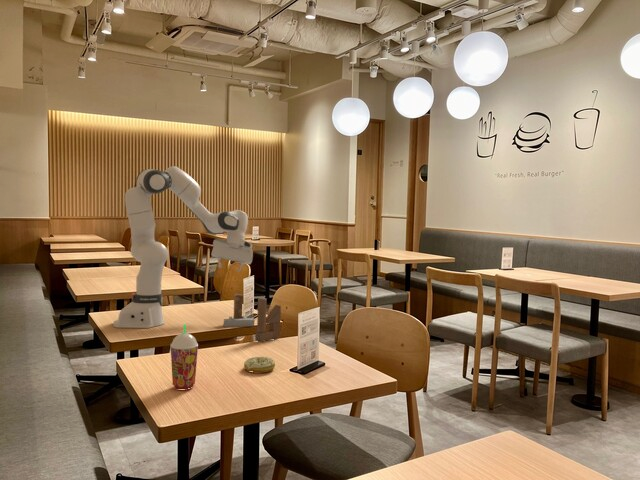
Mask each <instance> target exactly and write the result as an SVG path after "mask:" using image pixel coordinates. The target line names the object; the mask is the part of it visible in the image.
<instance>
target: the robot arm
mask: <svg viewBox="0 0 640 480" xmlns="http://www.w3.org/2000/svg"><path fill="white" fill-rule="evenodd" d="M166 190H169V191H170V192H171V191H172V193H173V194H174V195H175V196H176V197H178V198H179V199H180V200H181V201H182V202H183V203H184V205H185V206H186V207H187V209H189V211H190V212H191V213H192V214H193V215H194V216H195V217H196V218H197V219H198V220H199V221H200V222H201V224H202V226H203V228H204V229H205V231H206V232H207V233H208V234H211V235H218V234H220V233H224V232H225V233H227V235H226V239H221V238H216V239H214V240H213V242H212V247H213V248H212V250H211V254H210V255H211V257H213V258H216V259H217V263H218V268H222V267H223V263H222V262H221V260H228V261H232V262H236V263H239V264H240V266H238V267H237V272H241V271H242V268H243V267H244V265H251V264H252V262H253V258H254V251H253V249H252V248H253V244H252V243H251V242H249V241H248V240H246V239H245V238H246V232H247V229H248V224H249V217H248V214H247V213H246V212H244V211H243V210H240V209H235V210H231V211H220V212H218V213H212V212H211V211H209V210H208V209H207V208H206V207H205V206H204V205H203V204H202V202H201V200H200V197H201V194H202V188H201V186H200V185H199V183H198V182H197V181H196V180H195V179H194V178H193V177H192V176H191V175H190V174H188V173H187V172H186V171H184V170H182V169H181V168H179V167H178V166H176V165H175V166H174V165H173V166H170V167H168V168H166V169H165V170H164V171H163V170H160V169H154V168H148V169H144V170H142V171H140V172H139V173H138V175H137V177H136V179H135V183H134V186H133V187H131V188H129V189H127V190H126V192H125V195H124V203H125V209H126V214H127V218H128V223H129V229H130V235H131V237H130V238H131V241H130V242H131V247H130V254H131V257H132V258H133V259H135V260H136V261H137V262H139V263H140V267H139V271H138V274H137V275H136V279H135V280H136V281H135V282H136V288H135V290H136V292H135V293H134V292H132V294H131V295H130V296H131V302H130V303H129V304H126V306H124V307H123V308H122V309H121V310H120V311H119V313H118V318H117V319H116V320H114V321H113V323H112V326H113V327H114V328H120V329H121V328H123V329H125V328H127V329H133V328H134V329H150V328H153V327H157V326H162V325H164V324H165V319H164V315H163V310H162V309H163V308H162V304H163V293H162V275H163V273H164V272H163V270H164V268H165V264H166V262H167V260H168V258H169V250H168V248H167V246H165V245H164V244H163V243H161V242H160V241H156V240H155V229H156V227H157V226H156V221H155V216H154V211H153V207H152V202H151V198H152V195H156V194H161V193H162V192H164V191H166Z"/></svg>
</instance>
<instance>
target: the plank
mask: <svg viewBox="0 0 640 480" xmlns="http://www.w3.org/2000/svg"><path fill="white" fill-rule="evenodd" d="M243 296H244V295H243V294H242V293H234V294H233V297H234V298H233V319H243V299H244V298H243Z"/></svg>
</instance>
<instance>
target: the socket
mask: <svg viewBox="0 0 640 480" xmlns="http://www.w3.org/2000/svg"><path fill="white" fill-rule="evenodd" d="M223 326H224V328H233V327H255V318H254V317H251V318H249V317H247V316H246V315H242V319H234V317H233V316H230V315H229V317H228V318H224V319H223Z"/></svg>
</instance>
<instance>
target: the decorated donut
mask: <svg viewBox="0 0 640 480" xmlns="http://www.w3.org/2000/svg"><path fill="white" fill-rule="evenodd" d="M243 364H244V365H243V367H244V368H245V369H246V370H248V371H253V372H267V371H270V372H272V371H273V370H274V369H275V367H276V362H275V361H274V359H272V358H271V357H268V356H254V357H251V358H248V359H247V360H245V361H244V362H243ZM244 368H243V369H244ZM245 369H244V370H245ZM271 370H272V371H271ZM267 373H268V372H267Z"/></svg>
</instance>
